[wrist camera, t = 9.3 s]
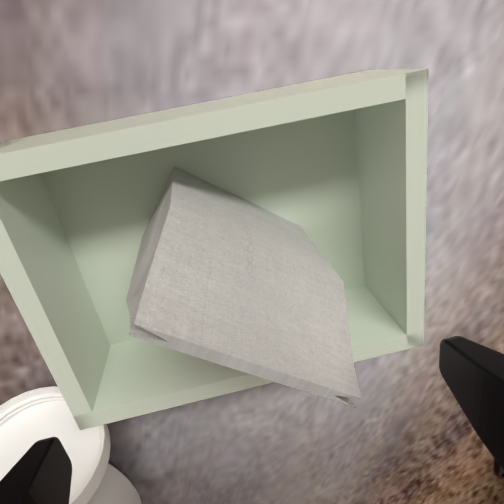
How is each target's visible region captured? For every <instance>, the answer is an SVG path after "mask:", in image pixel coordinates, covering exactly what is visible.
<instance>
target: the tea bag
mask: <svg viewBox="0 0 504 504" xmlns="http://www.w3.org/2000/svg"><path fill="white" fill-rule="evenodd" d="M126 303H127V306H128V309H129V312H130V327H129V336H131V337H135V338H138V339H141V340H144V341H147V342H150V343H153V344H157V345H160V346H163V347H166V348H169V349H172V350H175V351H179V352H182V353H185V354H188V355H191V356H194V357H197V358H201V359H204V360H207V361H210V362H213V363H216V364H219V365H223V366H226V367H229V368H232V369H235V370H238V371H241V372H245V373H248V374H251V375H254V376H257V377H260V378H263V379H266V380H270V381H273V382H276V383H279V384H282V385H285V386H288V387H292V388H295V389H298V390H301V391H304V392H307V393H310V394H314V395H317V396H320V397H323V398H326V399H329V400H332V401H336V402H339V403H342V404H345V405H348V406H351V407H354V408H356V407H355V406H354V405H353V403H352V402H351V401H350V400H349V398H348V397H350V398H358V399H363V397H362V394H361V391H360V387H359V384H358V381H357V378H356V373H355V367H354V361H353V355H352V350H351V343H350V334H349V325H348V316H347V307H346V298H345V289H344V282H343V281H342V279H341V278H340V277H339V275H338V274H337V273H336V272H335V270H334V269H333V268H332V266H331V265H330V264H329V262H328V261H327V260H326V258H325V257H324V256H323V255H322V253H321V252H320V251H319V249H318V248H317V247H316V245H315V244H314V243H313V241H312V240H311V239H310V238H309V236H308V235H307V234H306V232H305V231H304V230H303V228H302V227H301V226H299V225H297V224H295V223H293V222H291V221H289V220H287V219H284V218H282V217H280V216H278V215H276V214H274V213H272V212H270V211H268V210H266V209H263V208H261V207H259V206H257V205H255V204H253V203H251V202H249V201H247V200H244V199H242V198H240V197H238V196H236V195H234V194H232V193H230V192H228V191H226V190H223V189H221V188H219V187H217V186H215V185H213V184H211V183H209V182H207V181H205V180H202V179H200V178H198V177H196V176H194V175H192V174H190V173H188V172H186V171H183V170H181V169H179V168H177V167H175V166H174V168H173V170H172V172H171V175H170V177H169V179H168V181H167V183H166V186H165V188H164V190H163V192H162V194H161V197H160V199H159V201H158V203H157V205H156V208H155V210H154V212H153V214H152V216H151V219H150V221H149V223H148V225H147V227H146V230H145V232H144V234H143V236H142V240H141V244H140V248H139V252H138V256H137V259H136V263H135V267H134V271H133V275H132V279H131V283H130V287H129V291H128V295H127V298H126Z"/></svg>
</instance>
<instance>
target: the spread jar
mask: <svg viewBox="0 0 504 504" xmlns="http://www.w3.org/2000/svg"><path fill="white" fill-rule="evenodd" d="M50 437H57V438H58V439H59V440H60V441H61V443H62V445H63V447H64V449H65V450H66V452H67V454H68V456H69V458H70V460H71V463H72V479H71V488H70V498H69V504H141V499H140V496H139V494H138V492H137V490H136V488H135V486H134V484H133V482H132V481H131V479H130V478H129V477H128V475H127V474H126V473H125V472H124V470H123V469H122V468H121V467H120V466H119V465H118V464H117V463H116V462H115V461H113V460H112V459H111V458H109V456H110V446H111V444H110V434H109V430H108V427H107V424H104V425H100V426H96V427H92V428H88V429H84V430H80V429H79V427H78V425H77V423H76V421H75V419H74V417H73V415H72V413H71V411H70V410H69V408H68V406H67V404H66V402H65V400H64V398H63V396H62V394H61V392H60V390H59V388H58V387H57V386H51V387H43V388H38V389H34V390H31V391H27V392H25V393H23V394H20V395H18V396H16V397H14V398H12V399H10V400H8V401H7V402H5V403H4V404H2V405H0V481H1V480H2V478H3V477H4V476H5V475H6V474H7V473H8V472H9V471H10V470H11V468H12V467H13V466H14V465H15V464H16V463H17V462H18V461H19V460H20V459H21V457H22V456H23V455H24V454H25V453H26V452H27V451H28V450H29V449H30V447H31V446H32V445H33V444H34V443H35V442H37V441H39V440H42V439H46V438H50Z"/></svg>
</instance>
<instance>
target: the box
mask: <svg viewBox="0 0 504 504" xmlns="http://www.w3.org/2000/svg"><path fill="white" fill-rule="evenodd" d="M427 122H428V69H394V70H364V71H359V72H354V73H349V74H344V75H339V76H334V77H329V78H323V79H318V80H313V81H308V82H303V83H298V84H293V85H288V86H283V87H278V88H273V89H268V90H262V91H257V92H252V93H247V94H242V95H237V96H232V97H227V98H222V99H217V100H212V101H207V102H201V103H196V104H191V105H186V106H181V107H176V108H171V109H166V110H161V111H156V112H151V113H146V114H140V115H135V116H130V117H125V118H120V119H115V120H110V121H105V122H100V123H95V124H90V125H85V126H79V127H74V128H69V129H64V130H59V131H54V132H49V133H44V134H39V135H34V136H29V137H24V138H18V139H13V140H9V141H7V142H4V143H1V144H0V273H1V275H2V277H3V279H4V281H5V283H6V285H7V287H8V289H9V291H10V293H11V295H12V297H13V299H14V301H15V303H16V305H17V307H18V309H19V311H20V313H21V315H22V317H23V319H24V321H25V323H26V325H27V327H28V329H29V331H30V333H31V335H32V337H33V339H34V340H35V342H36V344H37V346H38V348H39V350H40V352H41V354H42V356H43V358H44V360H45V362H46V364H47V366H48V368H49V370H50V372H51V374H52V376H53V378H54V380H55V382H56V384H57V386H58V388H59V390H60V392H61V394H62V396H63V398H64V400H65V402H66V404H67V406H68V408H69V410H70V411H71V413H72V415H73V417H74V419H75V421H76V423H77V425H78V427H79V429H80V430H84V429H88V428H92V427H96V426H100V425H104V424H108V423H112V422H116V421H120V420H124V419H128V418H132V417H136V416H140V415H144V414H148V413H152V412H156V411H160V410H164V409H168V408H172V407H176V406H180V405H184V404H188V403H192V402H196V401H200V400H205V399H209V398H213V397H217V396H221V395H225V394H229V393H233V392H237V391H241V390H245V389H249V388H253V387H257V386H261V385H265V384H269V383H273V381H270V380H266V379H263V378H260V377H257V376H254V375H251V374H248V373H245V372H241V371H238V370H235V369H232V368H229V367H226V366H223V365H219V364H216V363H213V362H210V361H207V360H204V359H201V358H197V357H194V356H191V355H188V354H185V353H182V352H179V351H175V350H172V349H169V348H166V347H163V346H160V345H157V344H153V343H150V342H147V341H144V340H141V339H138V338H135V337H131V336H129V327H130V312H129V309H128V306H127V303H126V298H127V295H128V291H129V287H130V283H131V279H132V275H133V271H134V267H135V263H136V259H137V256H138V252H139V248H140V244H141V240H142V236H143V234H144V232H145V230H146V227H147V225H148V223H149V221H150V219H151V216H152V214H153V212H154V210H155V208H156V205H157V203H158V201H159V199H160V197H161V194H162V192H163V190H164V188H165V186H166V183H167V181H168V179H169V177H170V175H171V172H172V170H173V168H174V166H175V167H177V168H179V169H181V170H183V171H186V172H188V173H190V174H192V175H194V176H196V177H198V178H200V179H202V180H205V181H207V182H209V183H211V184H213V185H215V186H217V187H219V188H221V189H223V190H226V191H228V192H230V193H232V194H234V195H236V196H238V197H240V198H242V199H244V200H247V201H249V202H251V203H253V204H255V205H257V206H259V207H261V208H263V209H266V210H268V211H270V212H272V213H274V214H276V215H278V216H280V217H282V218H284V219H287V220H289V221H291V222H293V223H295V224H297V225H299V226H301V227H302V228H303V230H304V231H305V232H306V234H307V235H308V236H309V238H310V239H311V240H312V241H313V243H314V244H315V245H316V247H317V248H318V249H319V251H320V252H321V253H322V255H323V256H324V257H325V258H326V260H327V261H328V262H329V264H330V265H331V266H332V268H333V269H334V270H335V272H336V273H337V274H338V275H339V277H340V278H341V279H342V281H343V282H344V289H345V298H346V307H347V316H348V325H349V334H350V343H351V350H352V355H353V361H354V362H358V361H362V360H366V359H370V358H374V357H378V356H382V355H386V354H390V353H394V352H398V351H402V350H406V349H410V348H414V347H418V346H422V345H424V295H425V238H426V180H427Z"/></svg>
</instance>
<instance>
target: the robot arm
mask: <svg viewBox="0 0 504 504" xmlns="http://www.w3.org/2000/svg"><path fill="white" fill-rule="evenodd" d="M439 368H440V372H441V374H442V377H443V378H444V380H445V382H446V383H447V385H448V387H449V388H450V390H451V392H452V393H453V395H454V397H455V398H456V400H457V402H458V403H459V405H460V407H461V408H462V410H463V412H464V413H465V415H466V417H467V418H468V420H469V422H470V423H471V425H472V427H473V428H474V430H475V431H476V433H477V434H478V436H479V437H480V439H481V440H482V442H483V443H484V444H485V446H486V447H487V448H488V450H489V451H490V452H491V454H492V455H493V457H494V458H495V459H496V461H497V462H496V469H495V473H496V475H497V476H498V477H499V478H500V479H504V354H502V353H500V352H497V351H495V350H492V349H490V348H488V347H485V346H483V345H480V344H478V343H475V342H473V341H471V340H468V339H466V338H463V337H461V336H454V337H450V338H446V339H443V340H442V341H441V343H440V357H439ZM71 479H72V463H71V460H70V458H69V456H68V454H67V452H66V450H65V449H64V447H63V445H62V443H61V441H60V440H59V439H58V438H57V437H50V438H46V439H42V440H39V441H37V442H35V443H34V444H33V445H32V446H31V447H30V449H29V450H28V451H27V452H26V453H25V454H24V455H23V456H22V457H21V459H20V460H19V461H18V462H17V463H16V464H15V465H14V466H13V467H12V468H11V470H10V471H9V472H8V473H7V474H6V475H5V476H4V477H3V478H2V480H1V481H0V504H69V498H70V488H71Z"/></svg>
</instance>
